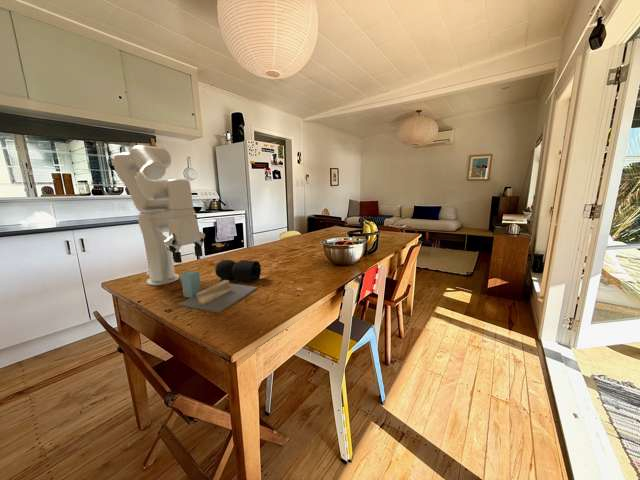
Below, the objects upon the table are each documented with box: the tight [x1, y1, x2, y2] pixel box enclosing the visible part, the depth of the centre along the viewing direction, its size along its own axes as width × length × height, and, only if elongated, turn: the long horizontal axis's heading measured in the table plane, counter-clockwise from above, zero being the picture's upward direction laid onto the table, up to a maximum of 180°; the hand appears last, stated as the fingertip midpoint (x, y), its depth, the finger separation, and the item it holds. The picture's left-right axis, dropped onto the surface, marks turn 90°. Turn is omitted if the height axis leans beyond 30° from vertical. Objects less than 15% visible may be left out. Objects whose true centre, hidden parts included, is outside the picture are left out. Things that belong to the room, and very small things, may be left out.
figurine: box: [215, 259, 262, 283], centre depth 114 cm, size 9×9×20 cm
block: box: [180, 270, 202, 298], centre depth 98 cm, size 4×4×9 cm
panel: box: [178, 283, 259, 314], centre depth 97 cm, size 18×22×1 cm
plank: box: [196, 279, 231, 305], centre depth 95 cm, size 2×14×4 cm, turn 160°
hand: (188, 259), depth 96 cm, fingers open, 9 cm apart
